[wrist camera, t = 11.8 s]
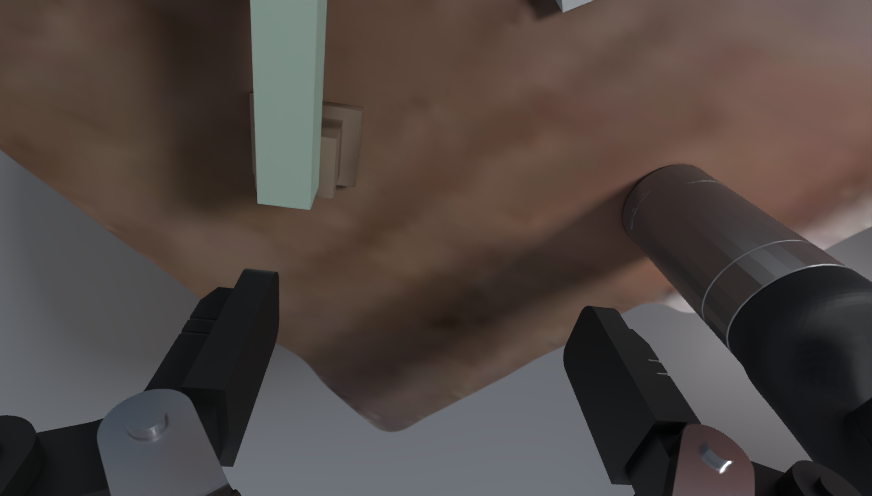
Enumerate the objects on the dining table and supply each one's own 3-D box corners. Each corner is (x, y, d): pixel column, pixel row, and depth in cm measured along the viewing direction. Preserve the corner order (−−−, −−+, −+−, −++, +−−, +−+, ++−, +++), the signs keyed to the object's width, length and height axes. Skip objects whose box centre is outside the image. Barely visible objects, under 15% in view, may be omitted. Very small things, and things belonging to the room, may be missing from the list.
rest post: (363, 107, 37) (357, 129, 32) (356, 182, 41) (350, 212, 36) (253, 89, 36) (229, 109, 31) (256, 168, 40) (235, 197, 35)
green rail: (337, -244, 22) (327, -282, 19) (318, 186, 35) (310, 209, 31) (263, -265, 22) (239, -308, 18) (271, 180, 34) (257, 203, 31)
